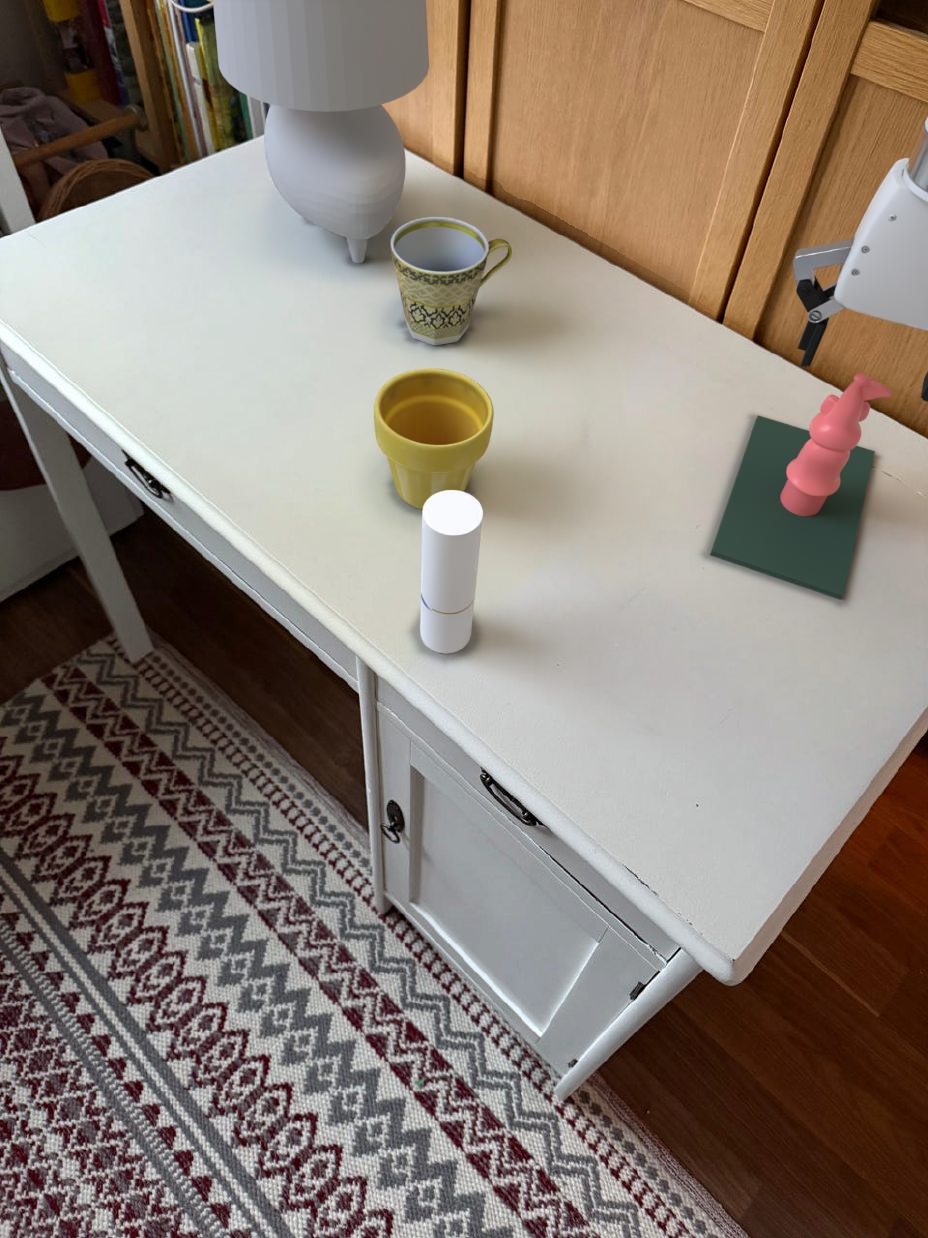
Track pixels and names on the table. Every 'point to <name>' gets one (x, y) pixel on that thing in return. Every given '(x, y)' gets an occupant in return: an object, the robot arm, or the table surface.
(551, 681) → the table surface
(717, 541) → the mat
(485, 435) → the flower pot
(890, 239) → the robot arm
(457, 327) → the ceramic cup
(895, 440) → the table surface
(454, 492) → the tube
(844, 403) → the figurine
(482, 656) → the table surface
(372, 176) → the table lamp
